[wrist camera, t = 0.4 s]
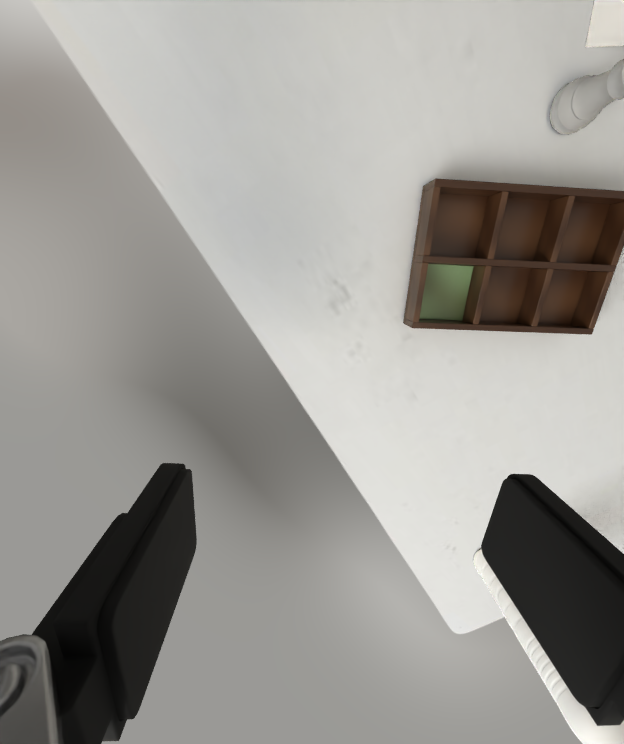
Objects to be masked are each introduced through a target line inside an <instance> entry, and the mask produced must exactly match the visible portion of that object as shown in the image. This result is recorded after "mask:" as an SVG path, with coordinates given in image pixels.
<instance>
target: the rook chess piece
mask: <svg viewBox="0 0 624 744" xmlns="http://www.w3.org/2000/svg"><path fill="white" fill-rule="evenodd" d="M623 98H624V59H622V60H620V61H619V62H618V63H617V64H615V65H614V67H613V68H612V69H611V70H609V71H607V72H605V73H602V74H600V75H592V76H590V75H586V76H583V77H580V78H578V79H575V80H574V81H573V82H571V83H568V84H567V85H565V86H564V87H563V88H562V89H561V90H560V91H559V92H558V94H557V95H556V97H555V99H554V100H553V104H552V107H551V111H550V122H551V124H552V127H553V128H554V129H555V130H556V131H558V132H559V133H560V134H566V135H569V134H572V133H575V132H577V131H578V130H580V129H581V128H584V127H585V126H587V125H588V124H589V123H590V122H592V121H593V120H594V119H595V118H596V116H597V115H598V114H599V113H600V112H601V110H602V109H603V108H604V107H606V106H607V105H608V104H610V103H611V102H613V101H615V100H616V99H618V100H620V99H623Z"/></svg>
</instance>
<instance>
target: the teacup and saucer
mask: <svg viewBox="0 0 624 744" xmlns="http://www.w3.org/2000/svg"><path fill="white" fill-rule="evenodd" d="M607 46H624V0H594V6H593V11H592V16H591V21H590V26H589V32H588V37H587V42H586V47H607Z"/></svg>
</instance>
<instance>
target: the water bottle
mask: <svg viewBox="0 0 624 744" xmlns="http://www.w3.org/2000/svg"><path fill="white" fill-rule="evenodd" d="M473 563H474V566H475V568H476V570H477V571H478V573H479V575H480V576H481V578H482V579H483V581H484V583H485V585H486V586H487V588H488V590H489V591H490V592H491V595H492V596H493V598H494V600H495V602H496V603H497V605H498V606H499V607H500V610H501V612H502V613H503V615H504V616H505V617H506V620H507V622H508V624H509V625H510V627H511V628H512V630H513V631H514V633H515V635H516V637H517V639H518V640H519V642H520V644H521V645H522V647H523V649H524V650H525V651H526V653H527V654H528V657H529V659H530V660H531V661H532V663H533V665H534V667H535V668H536V670H537V672H538V674H539V675H540V677H541V678H542V680H543V682H544V684H545V685H546V686H547V689H548V691H549V692H550V694H551V695H552V697H553V699H554V701H555V702H556V704H557V705H558V707H559V709H560V711H561V713H562V714H563V716H564V718H565V720H566V722H567V723H568V725H569V727H570V728H571V730H572V731H573V733H574V734H575V735H576V737H577V738H578V739H579V740H580V741H581V742H582V743H583V744H624V721H623V722H622V723H621V725H611V726H597V725H596V723H595V722H594V720H593V719H592V717H591V716H590V714H589V713H588V711H587V710H586V708H585V707H584V706H583V705H581V704H580V703H579V702H578V701H577V700H576V699H575V698H574V696H573V695H572V693H571V692H570V690H569V689H568V687H567V686H566V684H565V683H564V681H563V679H562V678H561V676H560V675H559V673H558V672H557V670H556V669H555V667H554V665H553V664H552V662H551V661H550V659H549V658H548V656H547V655H546V653H545V651H544V650H543V648H542V647H541V645H540V644H539V642H538V641H537V639H536V637H535V636H534V634H533V633H532V631H531V630H530V628H529V627H528V625H527V624H526V622H525V620H524V619H523V617H522V616H521V614H520V613H519V611H518V610H517V608H516V606H515V605H514V603H513V602H512V600H511V599H510V597H509V596H508V594H507V592H506V591H505V589H504V588H503V586H502V585H501V583H500V582H499V580H498V578H497V577H496V575H495V574H494V572H493V571H492V569H491V568H490V566H489V564H488V563H487V561H486V560H485V558H484V556H483V554H482V549H480V551H477V552H476V554H475V555H474V559H473Z"/></svg>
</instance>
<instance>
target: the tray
mask: <svg viewBox="0 0 624 744" xmlns="http://www.w3.org/2000/svg"><path fill="white" fill-rule="evenodd" d="M623 246H624V191H613V190H598V189H583V188H569V187H554V186H539V185H524V184H509V183H494V182H479V181H464V180H449V179H434V180H433V181H431V182H429V183H428V184H426V185H425V186H423V192H422V198H421V205H420V212H419V219H418V226H417V233H416V240H415V246H414V253H413V260H412V267H411V274H410V281H409V288H408V294H407V301H406V308H405V315H404V322H403V323H404V324H406V325H408V326H410V327H412V328H427V329H455V330H482V331H510V332H538V333H565V334H592V332H593V330H594V329H593V328H594V327H595V324H596V321H597V319H598V316H599V313H600V310H601V307H602V305H603V302H604V299H605V296H606V293H607V291H608V288H609V285H610V282H611V279H612V277H613V274H614V271H615V269H616V265H617V263H618V260H619V257H620V255H621V252H622V249H623Z"/></svg>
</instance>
